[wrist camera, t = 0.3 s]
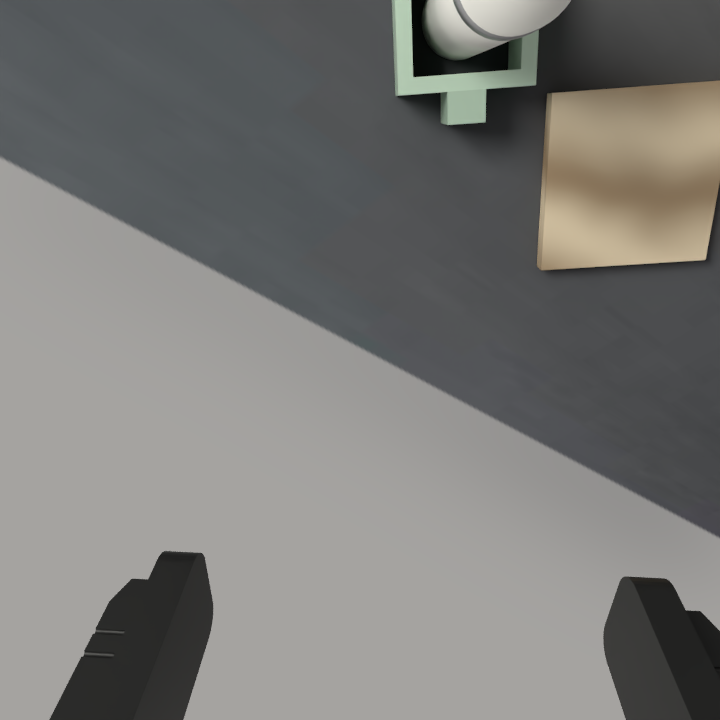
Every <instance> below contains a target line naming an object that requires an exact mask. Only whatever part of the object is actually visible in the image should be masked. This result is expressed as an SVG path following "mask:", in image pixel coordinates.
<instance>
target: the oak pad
mask: <svg viewBox="0 0 720 720" xmlns="http://www.w3.org/2000/svg"><path fill="white" fill-rule="evenodd" d="M719 183H720V81H707V82H694V83H680V84H667V85H653V86H640V87H626V88H613V89H599V90H586V91H573V92H559V93H547V104H546V121H545V138H544V155H543V172H542V188H541V205H540V222H539V239H538V256H537V267H538V268H539V269H540V270H554V269H570V268H586V267H602V266H618V265H634V264H649V263H665V262H681V261H697V260H706V255H707V249H708V244H709V238H710V233H711V227H712V222H713V216H714V210H715V205H716V199H717V194H718V188H719Z"/></svg>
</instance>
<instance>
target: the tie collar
mask: <svg viewBox="0 0 720 720" xmlns="http://www.w3.org/2000/svg"><path fill="white" fill-rule="evenodd" d="M392 16H393V41H394V67H395V93H396V96H402V95H415V94H429V93H441V123H442V124H446V125H456V124H469V123H483V122H486V89H495V88H509V87H522V86H533V85H536V76H537V56H538V37H539V30H537V31H535V32H533V33H531V34H529V35H526V36H524V37H522V38H518V39H515V40H511V41H509V54H508V70H502V71H489V72H476V73H463V74H450V75H436V76H423V77H413V50H412V13H411V0H392Z"/></svg>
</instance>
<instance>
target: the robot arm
mask: <svg viewBox="0 0 720 720" xmlns="http://www.w3.org/2000/svg"><path fill="white" fill-rule="evenodd" d="M212 619H213V601H212V595H211V590H210V584H209V579H208V573H207V568H206V563H205V557H204V555H203V554H202V553H190V552H171V551H164V552H162V554H161V555H160V556H159V558H158V560H157V562H156V564H155V566H154V568H153V571H152V573H151V575H150V577H149V579H148V580H145V579H131V580H130V581H129V582H128V583H127V584H126V585H125V586H124V588H122V589H121V590H120V591H119V592H118V593H117V594H116V595H115V596H114V597H113V598H112V599H111V601H110V602H109V603H108V605H107V607H106V609H105V612H104V613H103V615H102V617H101V619H100V621H99V623H98V625H97V627H96V632H95V634H93V635H92V637H91V639H90V641H89V643H88V645H87V647H86V649H85V653H84V656H83V657H81V659H80V661H79V663H78V665H77V667H76V668H75V671H74V672H73V674H72V677H71V678H70V680H69V683H68V684H67V686H66V688H65V690H64V692H63V694H62V696H61V699H60V700H59V702H58V704H57V706H56V708H55V710H54V712H53V714H52V716H51V718H50V720H183V719H184V716H185V712H186V709H187V706H188V703H189V700H190V696H191V693H192V689H193V687H194V683H195V680H196V677H197V674H198V671H199V667H200V664H201V661H202V658H203V654H204V652H205V648H206V645H207V642H208V639H209V635H210V631H211V626H212ZM604 651H605V656H606V660H607V664H608V666H609V669H610V673H611V676H612V679H613V682H614V684H615V688H616V691H617V694H618V697H619V700H620V703H621V706H622V709H623V712H624V715H625V718H626V720H720V631H719V630H718V629H717V628H716V627H715V626H714V625H713V624H712V623H711V622H710V621H709V620H708V619H707V618H706V617H705V616H704V615H703V614H702V613H701V612H700V611H686V610H685V608H684V606H683V604H682V602H681V600H680V598H679V596H678V594H677V592H676V590H675V588H674V587H673V585H672V584H671V583H670V581H668V580H667V579H661V578H642V577H623V578H622V579H621V581H620V583H619V586H618V589H617V592H616V594H615V598H614V600H613V603H612V606H611V609H610V612H609V615H608V618H607V621H606V624H605V628H604Z"/></svg>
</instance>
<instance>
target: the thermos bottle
mask: <svg viewBox="0 0 720 720" xmlns="http://www.w3.org/2000/svg"><path fill="white" fill-rule="evenodd" d="M570 1H571V0H426V1H425V4H424V7H423V11H422V20H421V23H422V31H423V35H424V38H425V40H426V42H427V44H428V45H429V47H430V48H431V49H432V50H433V51H434V52H435V53H436V54H437V55H439V56H440V57H442V58H445V59H448V60H454V61H458V60H464V59H467V58H470V57H472V56H475V55H477V54H479V53H482V52H484V51H487V50H489V49H491V48H494V47H496V46H499V45H501V44H503V43H506V42H508V41H511V40H515V39H518V38H522V37H524V36H526V35H529V34H531V33H533V32H535V31H537V30H539V29H540V28H542V27H543V26H545V25H547V24H548V23H550V22H551V21H552V20H554V19H555V18H556V17H557V16H558V15H559V14H560V13H561V12H562V11H563V10H564V9H565V8H566V7H567V5H568V4H569V3H570Z"/></svg>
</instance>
